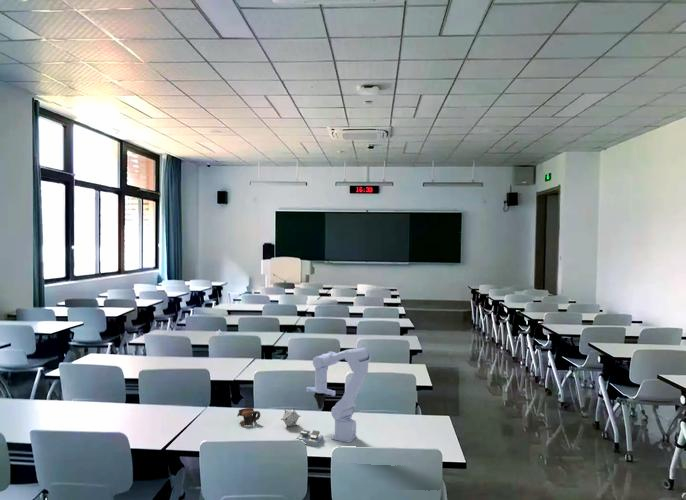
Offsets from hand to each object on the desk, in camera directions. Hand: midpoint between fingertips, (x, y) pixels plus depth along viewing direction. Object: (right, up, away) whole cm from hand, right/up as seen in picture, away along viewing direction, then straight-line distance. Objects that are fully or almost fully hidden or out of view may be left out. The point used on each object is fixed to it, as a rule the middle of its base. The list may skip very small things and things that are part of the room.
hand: (320, 408), depth 231 cm
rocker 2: (-2, -7, -16) cm, 17 cm away
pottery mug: (-35, -9, +5) cm, 37 cm away
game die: (-15, -9, +2) cm, 17 cm away
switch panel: (-4, -10, -15) cm, 18 cm away
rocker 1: (-6, -7, -14) cm, 17 cm away
